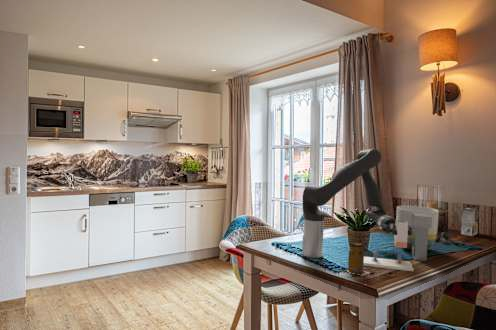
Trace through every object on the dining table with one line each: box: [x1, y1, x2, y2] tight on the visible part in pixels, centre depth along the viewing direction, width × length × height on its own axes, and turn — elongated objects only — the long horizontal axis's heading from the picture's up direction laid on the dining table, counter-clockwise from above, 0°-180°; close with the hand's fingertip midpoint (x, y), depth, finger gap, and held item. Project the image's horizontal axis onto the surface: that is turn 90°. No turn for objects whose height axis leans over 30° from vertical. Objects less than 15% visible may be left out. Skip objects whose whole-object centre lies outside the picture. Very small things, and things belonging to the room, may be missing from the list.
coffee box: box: [460, 207, 480, 237], centre depth 218 cm, size 9×6×16 cm
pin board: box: [363, 251, 415, 272], centre depth 154 cm, size 20×10×5 cm, turn 74°
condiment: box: [347, 241, 371, 278], centre depth 143 cm, size 7×8×12 cm
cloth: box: [434, 231, 463, 248], centre depth 196 cm, size 22×19×6 cm
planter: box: [395, 205, 440, 251], centre depth 180 cm, size 20×20×21 cm
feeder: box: [411, 213, 432, 262], centre depth 165 cm, size 7×9×21 cm
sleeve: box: [393, 220, 408, 249], centre depth 152 cm, size 5×5×11 cm
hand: (403, 233), depth 150 cm, fingers closed on sleeve, 5 cm apart
